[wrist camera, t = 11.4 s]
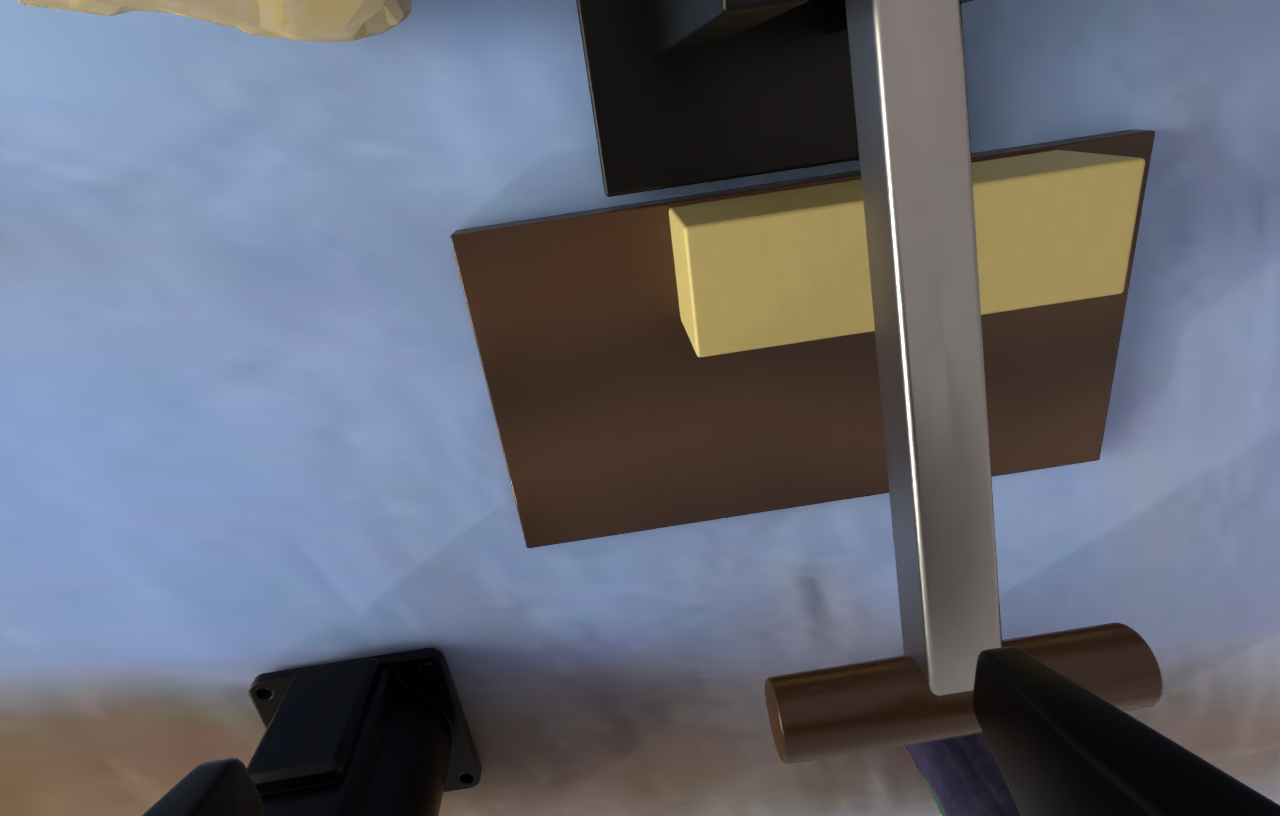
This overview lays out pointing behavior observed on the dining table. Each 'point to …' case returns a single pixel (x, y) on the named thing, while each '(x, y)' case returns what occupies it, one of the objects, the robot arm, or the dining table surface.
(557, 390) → the butter board
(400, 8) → the cheese
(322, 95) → the dining table surface
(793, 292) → the butter
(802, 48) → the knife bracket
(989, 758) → the flask
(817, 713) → the grey brown t-shaped piece
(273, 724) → the robot arm
